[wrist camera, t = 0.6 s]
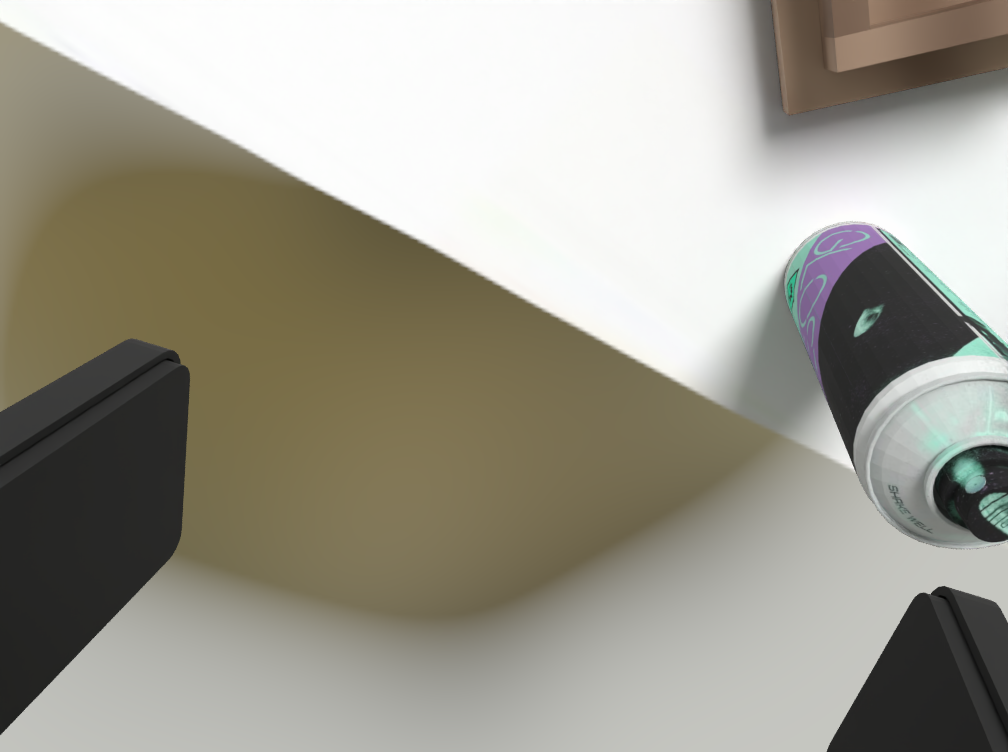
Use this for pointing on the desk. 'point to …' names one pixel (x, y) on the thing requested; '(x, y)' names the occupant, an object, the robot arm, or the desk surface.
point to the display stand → (882, 46)
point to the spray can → (907, 384)
